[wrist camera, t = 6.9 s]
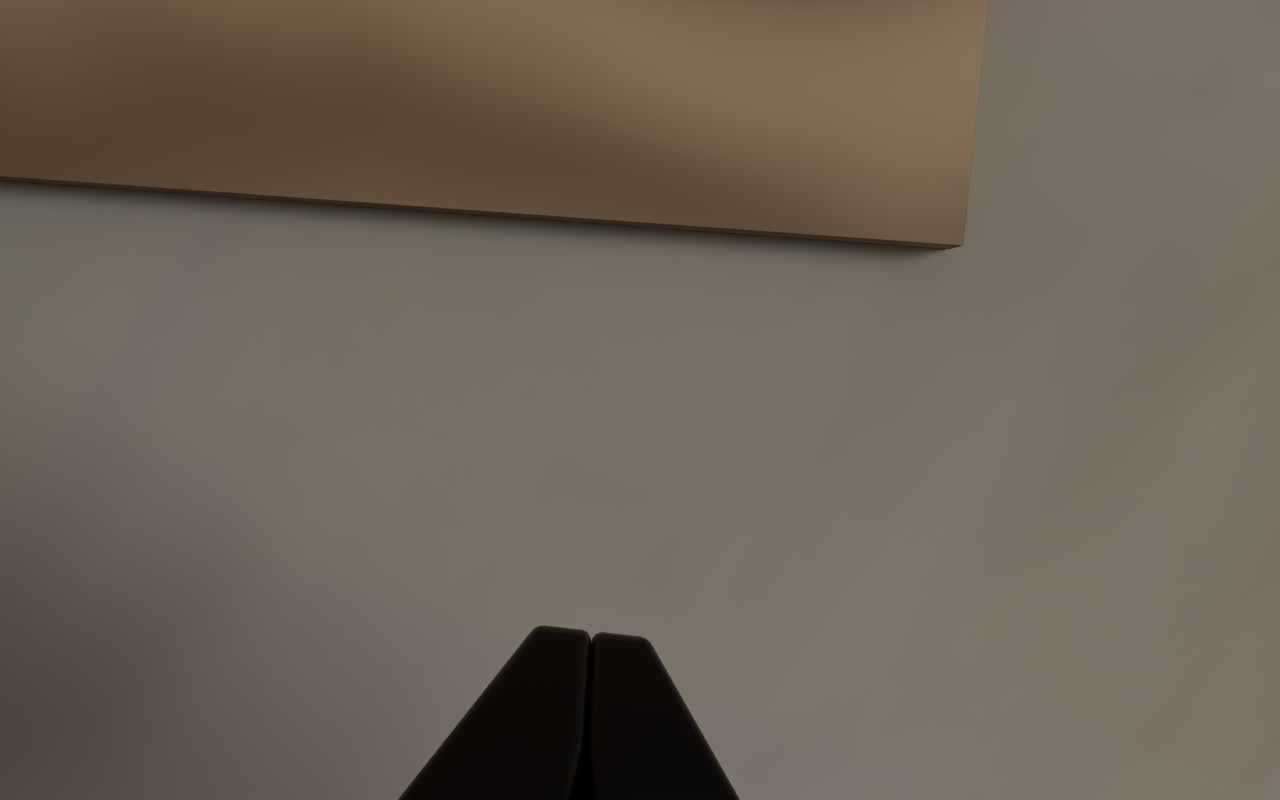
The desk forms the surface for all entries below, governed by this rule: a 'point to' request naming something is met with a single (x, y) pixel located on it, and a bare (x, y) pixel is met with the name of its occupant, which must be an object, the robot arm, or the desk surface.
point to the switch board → (514, 108)
